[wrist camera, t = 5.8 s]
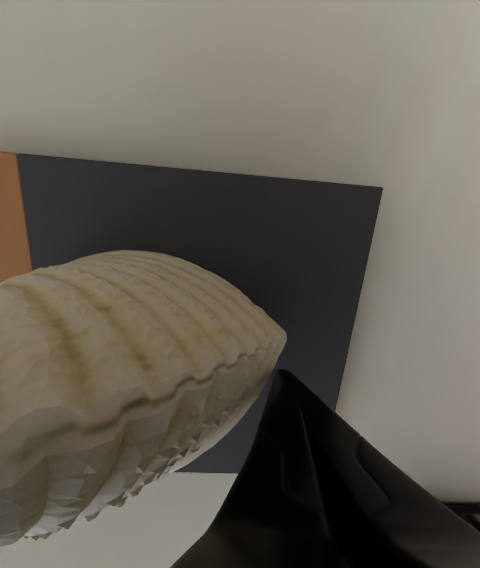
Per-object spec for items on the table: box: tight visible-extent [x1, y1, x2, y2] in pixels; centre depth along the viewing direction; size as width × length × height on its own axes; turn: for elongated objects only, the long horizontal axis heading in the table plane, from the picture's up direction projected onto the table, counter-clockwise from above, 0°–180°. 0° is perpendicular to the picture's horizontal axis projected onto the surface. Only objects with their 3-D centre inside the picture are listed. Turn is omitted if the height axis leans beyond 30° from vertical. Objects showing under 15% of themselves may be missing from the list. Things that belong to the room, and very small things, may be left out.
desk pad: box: [0, 152, 383, 473], centre depth 10 cm, size 22×14×1 cm, turn 85°
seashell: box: [0, 250, 287, 546], centre depth 8 cm, size 8×8×8 cm
